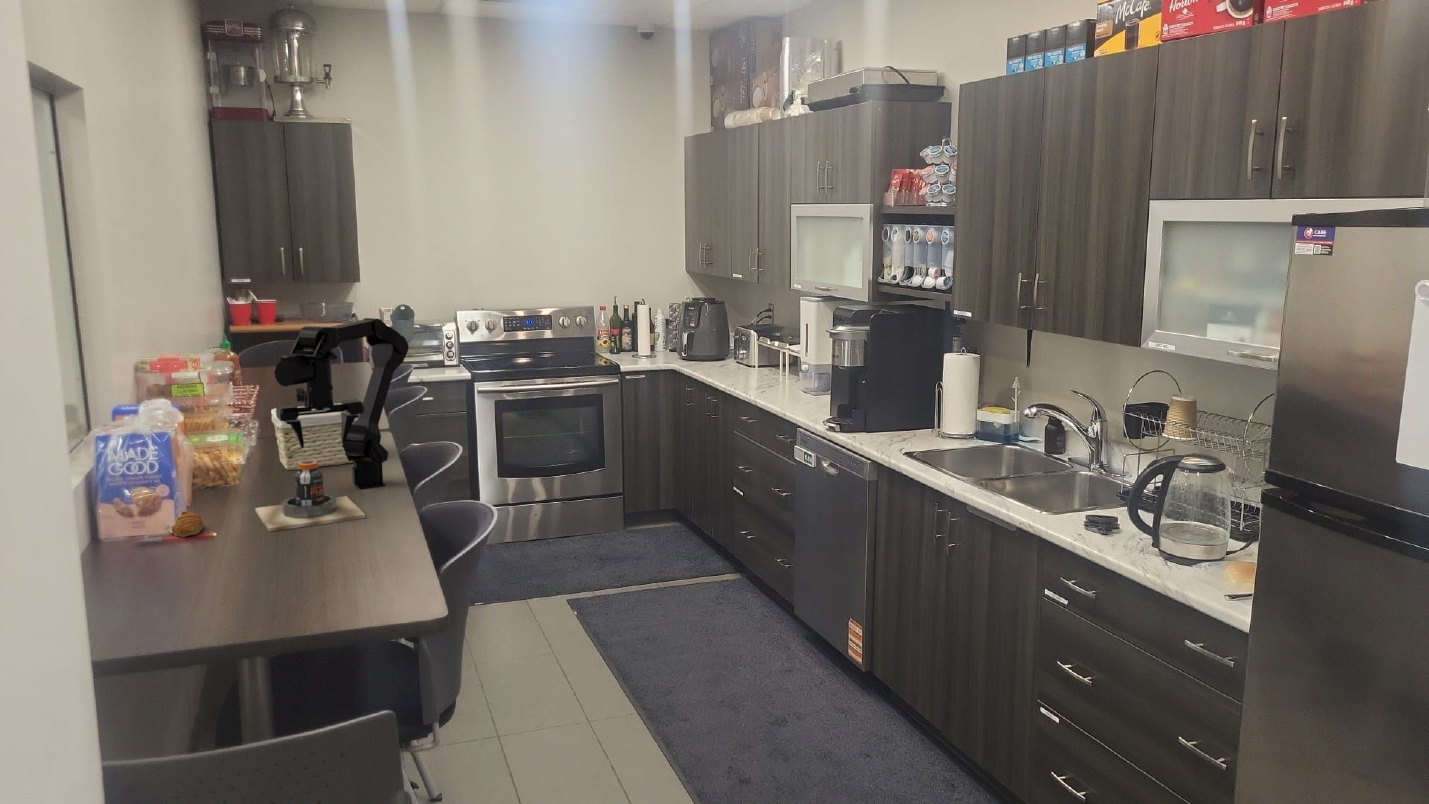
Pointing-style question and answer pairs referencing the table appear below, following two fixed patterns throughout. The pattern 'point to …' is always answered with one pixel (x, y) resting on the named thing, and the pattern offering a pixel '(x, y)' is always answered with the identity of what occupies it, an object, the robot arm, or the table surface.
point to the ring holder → (308, 513)
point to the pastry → (187, 524)
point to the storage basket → (311, 440)
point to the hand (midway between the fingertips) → (322, 445)
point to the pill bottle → (308, 484)
